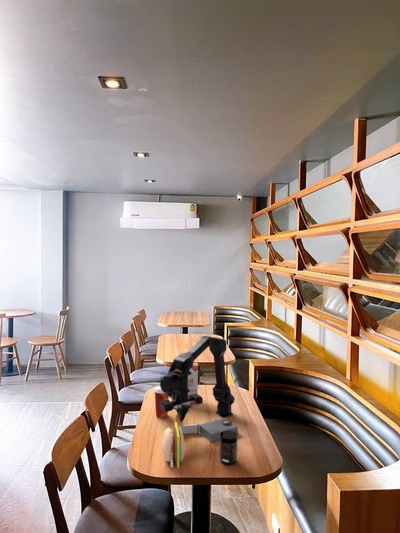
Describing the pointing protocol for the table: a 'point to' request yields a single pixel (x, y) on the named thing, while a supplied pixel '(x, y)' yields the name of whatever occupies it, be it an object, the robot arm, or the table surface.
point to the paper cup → (158, 398)
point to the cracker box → (192, 381)
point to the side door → (187, 426)
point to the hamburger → (173, 445)
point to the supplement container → (228, 447)
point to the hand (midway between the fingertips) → (181, 421)
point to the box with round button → (216, 429)
